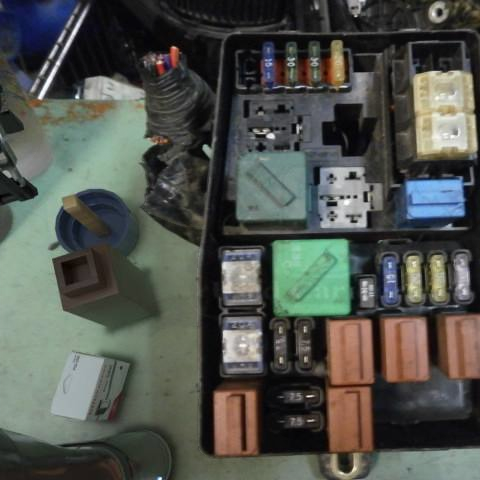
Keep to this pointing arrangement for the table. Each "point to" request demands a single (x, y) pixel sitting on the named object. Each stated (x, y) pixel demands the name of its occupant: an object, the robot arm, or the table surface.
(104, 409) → the ink box
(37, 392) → the table surface
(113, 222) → the bowl
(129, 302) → the stand
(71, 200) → the stirring stick
